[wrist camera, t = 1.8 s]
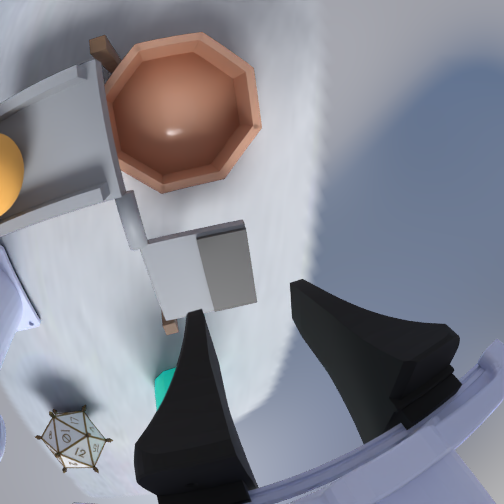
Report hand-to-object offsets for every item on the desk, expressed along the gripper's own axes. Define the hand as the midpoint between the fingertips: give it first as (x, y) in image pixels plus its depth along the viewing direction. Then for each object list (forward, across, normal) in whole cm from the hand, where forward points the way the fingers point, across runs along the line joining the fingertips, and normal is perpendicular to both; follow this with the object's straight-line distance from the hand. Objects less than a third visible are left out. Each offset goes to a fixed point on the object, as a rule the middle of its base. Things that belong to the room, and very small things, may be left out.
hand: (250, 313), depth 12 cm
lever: (+5, +6, -5) cm, 9 cm away
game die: (+11, +22, +18) cm, 30 cm away
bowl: (+10, +1, -9) cm, 14 cm away
